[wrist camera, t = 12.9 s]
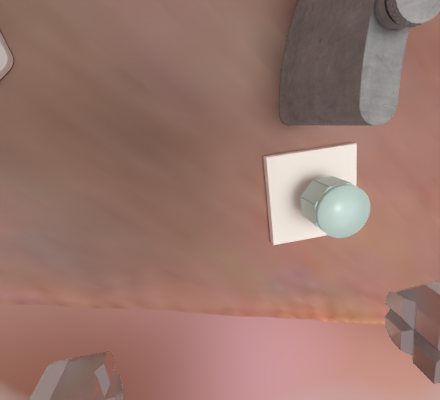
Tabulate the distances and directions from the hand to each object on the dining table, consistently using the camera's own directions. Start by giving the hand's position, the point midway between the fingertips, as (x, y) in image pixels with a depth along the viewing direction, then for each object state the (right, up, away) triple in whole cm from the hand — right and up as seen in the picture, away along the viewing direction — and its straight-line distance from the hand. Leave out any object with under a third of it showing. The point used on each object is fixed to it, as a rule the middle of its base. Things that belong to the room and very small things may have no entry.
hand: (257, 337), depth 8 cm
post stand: (+12, +5, +33) cm, 35 cm away
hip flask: (+9, +22, +28) cm, 37 cm away
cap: (+13, +4, +29) cm, 32 cm away
